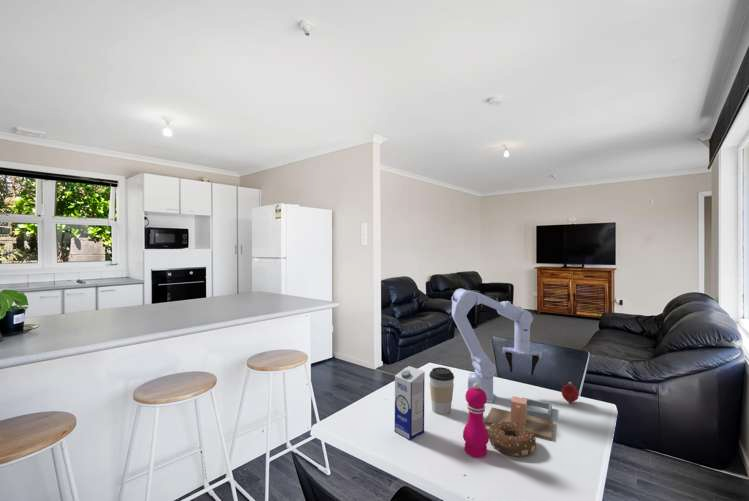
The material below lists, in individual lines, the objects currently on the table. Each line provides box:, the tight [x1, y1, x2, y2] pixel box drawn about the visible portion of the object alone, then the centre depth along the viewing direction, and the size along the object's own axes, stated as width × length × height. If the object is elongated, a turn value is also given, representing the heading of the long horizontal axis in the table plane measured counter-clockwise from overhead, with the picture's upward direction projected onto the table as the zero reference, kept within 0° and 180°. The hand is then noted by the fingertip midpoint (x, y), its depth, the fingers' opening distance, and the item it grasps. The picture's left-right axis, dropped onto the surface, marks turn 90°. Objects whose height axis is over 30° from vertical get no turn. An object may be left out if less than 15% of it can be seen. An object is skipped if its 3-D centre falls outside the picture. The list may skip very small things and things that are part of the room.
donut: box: [486, 421, 537, 457], centre depth 105 cm, size 14×14×5 cm
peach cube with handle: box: [510, 395, 528, 425], centre depth 117 cm, size 6×5×7 cm
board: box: [484, 406, 554, 442], centre depth 118 cm, size 20×12×1 cm, turn 61°
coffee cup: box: [428, 366, 455, 416], centre depth 127 cm, size 9×9×15 cm
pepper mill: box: [462, 383, 490, 459], centre depth 101 cm, size 7×7×20 cm
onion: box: [561, 381, 580, 404], centre depth 134 cm, size 6×6×8 cm
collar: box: [523, 397, 553, 421], centre depth 127 cm, size 10×10×2 cm
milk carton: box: [394, 365, 426, 441], centre depth 112 cm, size 7×7×20 cm
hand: (521, 372), depth 140 cm, fingers open, 7 cm apart
